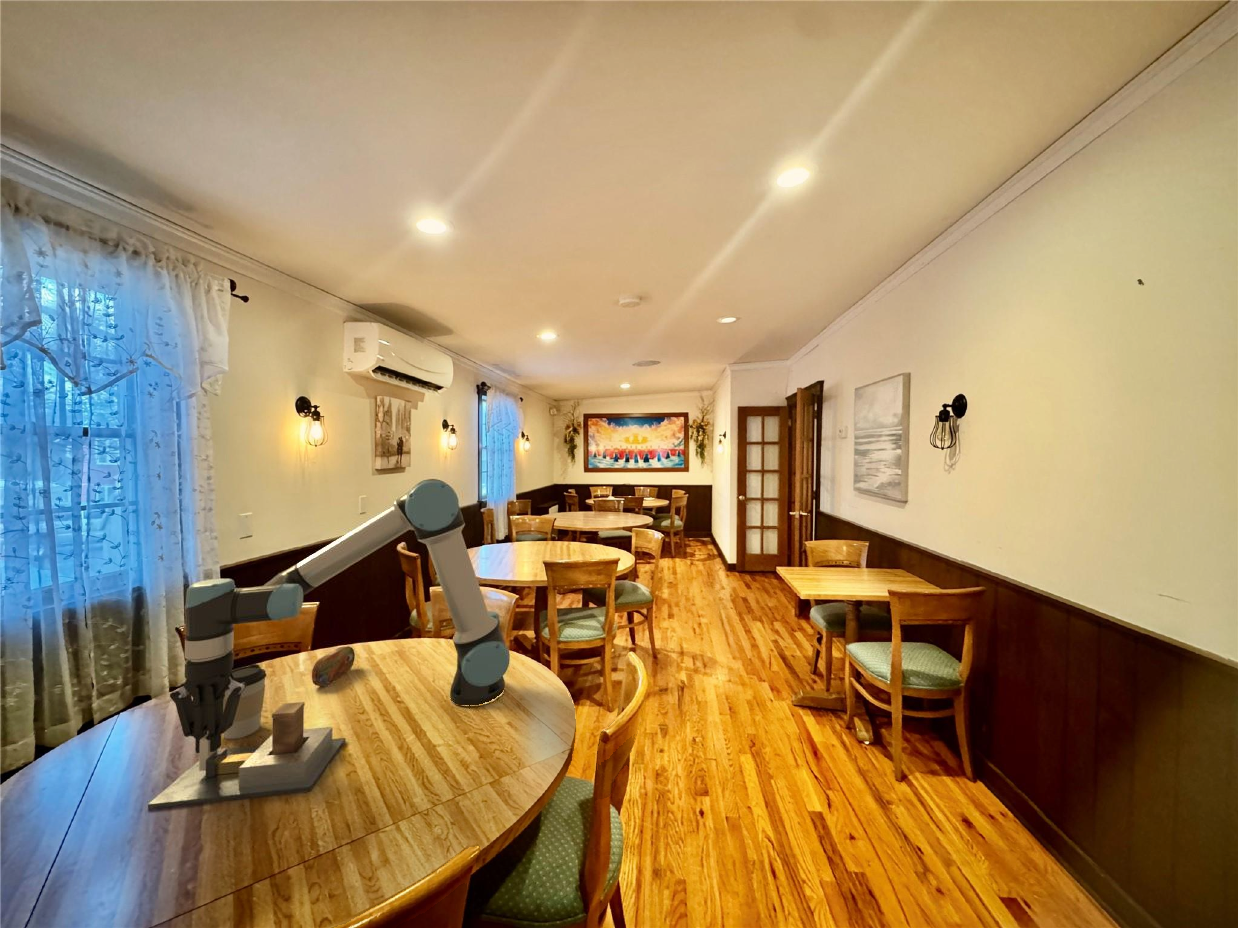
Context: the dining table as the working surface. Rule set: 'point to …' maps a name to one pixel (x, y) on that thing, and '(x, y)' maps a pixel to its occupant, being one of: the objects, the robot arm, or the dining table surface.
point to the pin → (224, 762)
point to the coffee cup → (247, 701)
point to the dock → (257, 773)
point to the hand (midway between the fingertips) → (208, 765)
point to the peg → (288, 728)
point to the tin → (333, 666)
